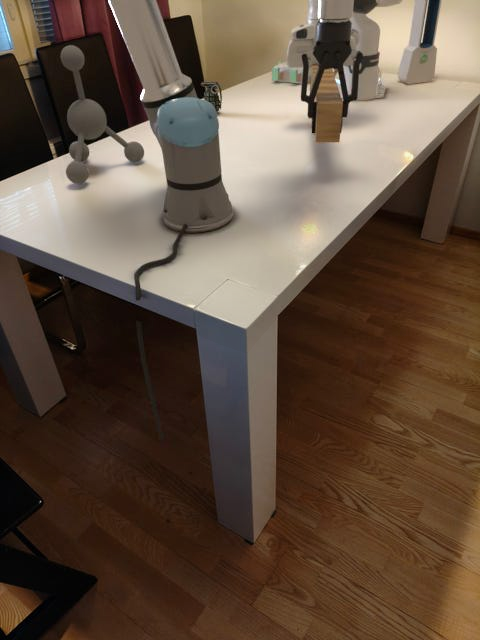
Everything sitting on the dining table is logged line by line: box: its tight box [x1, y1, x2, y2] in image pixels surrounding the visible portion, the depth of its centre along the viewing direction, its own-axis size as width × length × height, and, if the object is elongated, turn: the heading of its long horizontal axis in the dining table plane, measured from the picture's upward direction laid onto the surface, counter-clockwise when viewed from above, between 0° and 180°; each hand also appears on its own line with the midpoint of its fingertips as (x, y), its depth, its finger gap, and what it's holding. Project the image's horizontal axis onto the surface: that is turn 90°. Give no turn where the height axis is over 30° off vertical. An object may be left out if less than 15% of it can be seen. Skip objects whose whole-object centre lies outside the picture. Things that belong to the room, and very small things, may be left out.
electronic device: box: [397, 0, 442, 85], centre depth 186 cm, size 12×8×30 cm, turn 105°
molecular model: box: [60, 44, 145, 185], centre depth 125 cm, size 24×22×30 cm
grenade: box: [200, 81, 223, 113], centre depth 169 cm, size 7×6×10 cm
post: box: [309, 65, 343, 144], centre depth 130 cm, size 50×6×9 cm, turn 175°
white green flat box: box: [271, 61, 311, 85], centre depth 207 cm, size 26×6×20 cm
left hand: (326, 131), depth 118 cm, fingers closed on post, 6 cm apart
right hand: (319, 82), depth 146 cm, fingers closed on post, 5 cm apart
